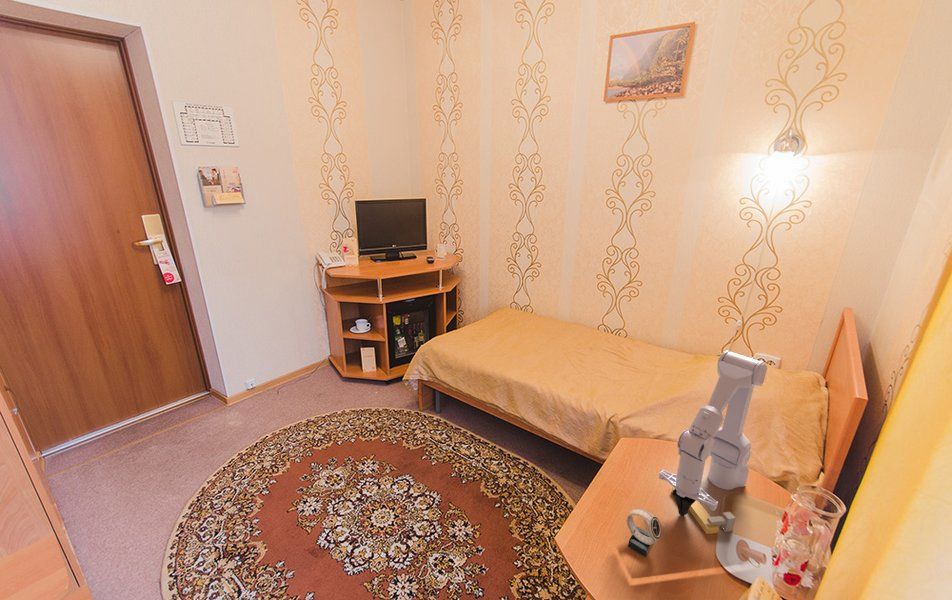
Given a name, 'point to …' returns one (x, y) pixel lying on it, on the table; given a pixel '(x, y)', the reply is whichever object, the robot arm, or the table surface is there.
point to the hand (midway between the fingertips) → (682, 513)
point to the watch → (643, 531)
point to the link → (701, 517)
